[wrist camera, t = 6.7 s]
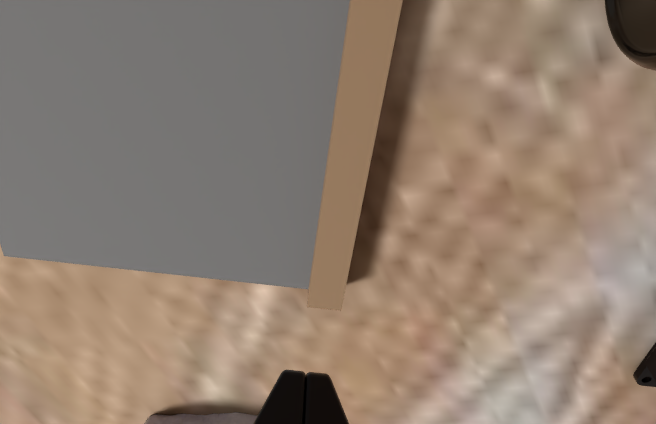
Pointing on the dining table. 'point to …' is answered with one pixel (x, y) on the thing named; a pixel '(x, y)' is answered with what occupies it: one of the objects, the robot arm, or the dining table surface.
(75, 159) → the mat
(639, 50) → the supplement bottle
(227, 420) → the stone block
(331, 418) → the robot arm
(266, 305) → the dining table surface
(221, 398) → the dining table surface
